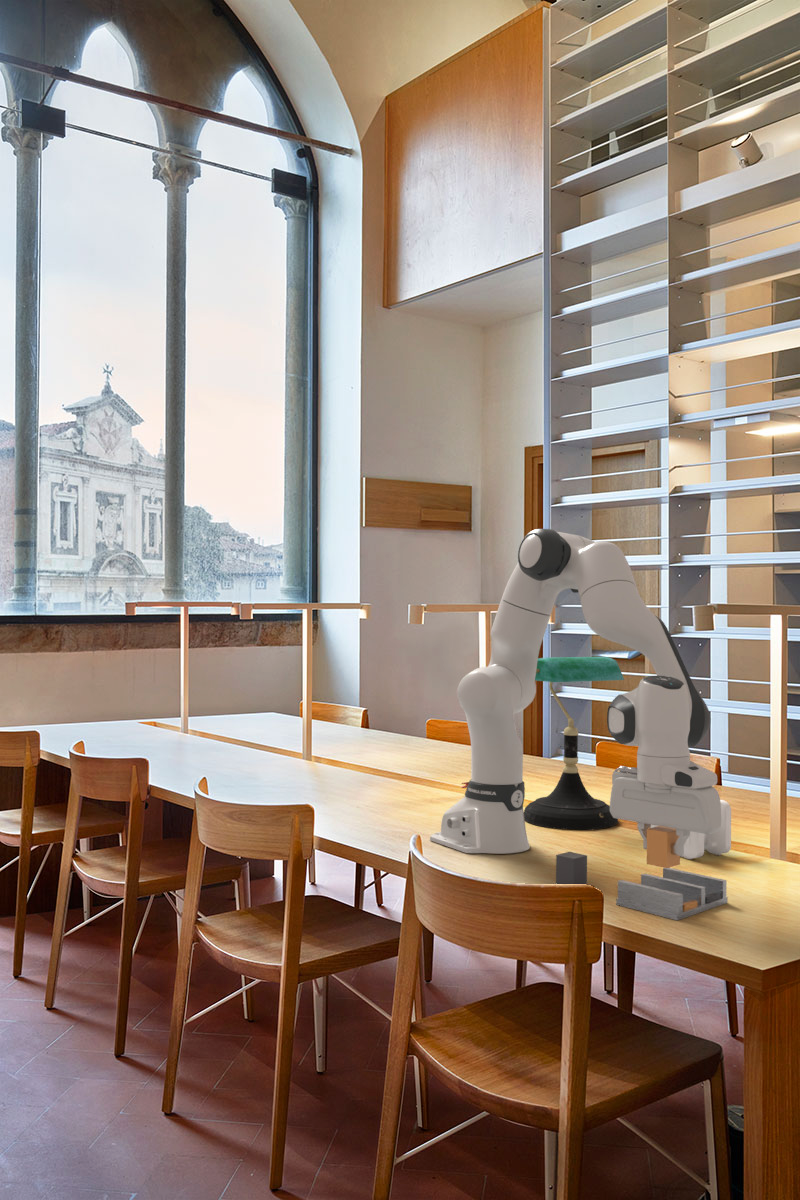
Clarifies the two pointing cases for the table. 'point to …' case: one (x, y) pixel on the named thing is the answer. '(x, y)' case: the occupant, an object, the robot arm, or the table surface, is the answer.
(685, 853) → the cable organizer
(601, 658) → the banker's lamp
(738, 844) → the table surface
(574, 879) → the dark gray block
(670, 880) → the gray divided tray
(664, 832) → the orange block
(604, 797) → the table surface
